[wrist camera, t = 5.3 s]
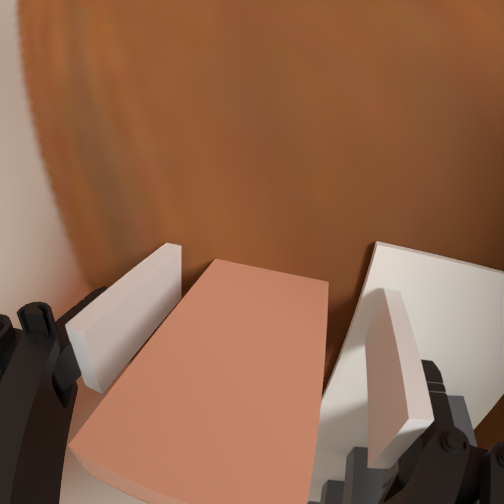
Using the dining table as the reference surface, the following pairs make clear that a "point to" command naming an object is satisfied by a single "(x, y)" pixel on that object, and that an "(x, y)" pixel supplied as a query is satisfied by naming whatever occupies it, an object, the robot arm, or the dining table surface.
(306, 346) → the orange domino
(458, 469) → the robot arm
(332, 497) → the domino
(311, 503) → the domino
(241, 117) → the dining table surface
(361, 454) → the domino
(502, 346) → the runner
